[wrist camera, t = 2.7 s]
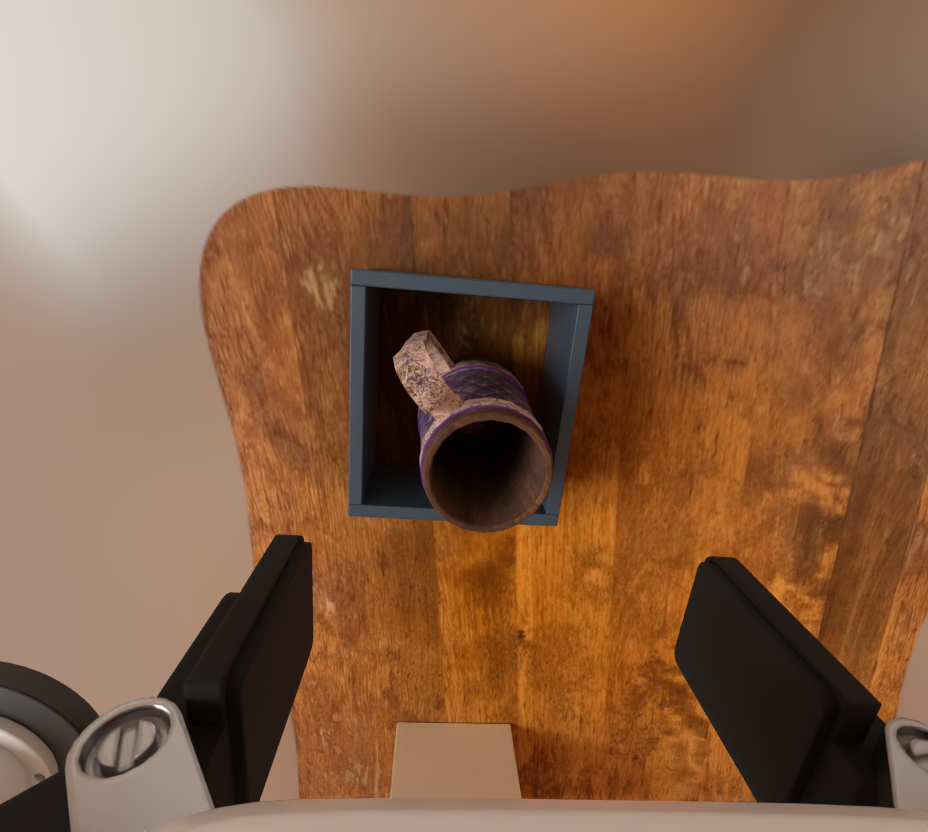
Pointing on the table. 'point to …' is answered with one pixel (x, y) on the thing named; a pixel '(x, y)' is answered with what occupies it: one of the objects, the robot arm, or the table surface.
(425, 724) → the block
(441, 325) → the table surface
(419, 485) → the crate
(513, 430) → the mug
